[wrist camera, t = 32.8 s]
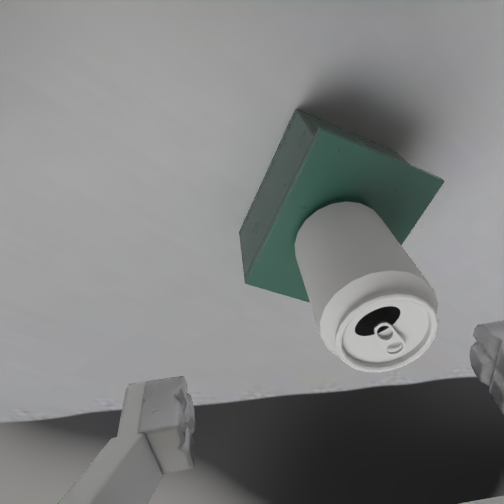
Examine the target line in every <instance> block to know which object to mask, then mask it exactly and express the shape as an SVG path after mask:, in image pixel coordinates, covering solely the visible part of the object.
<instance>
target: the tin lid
mask: <svg viewBox="0 0 504 504" xmlns="http://www.w3.org/2000/svg"><path fill="white" fill-rule="evenodd" d="M443 183H444V180H443V179H442V178H440V177H438V176H435V175H433V174H431V173H428V172H426V171H423V170H421V169H419V168H416V167H414V166H412V165H409V164H407V163H404V162H402V161H400V160H397V159H395V158H393V157H390V156H388V155H385V154H383V153H381V152H378V151H376V150H374V149H371V148H369V147H367V146H364V145H362V144H359V143H357V142H355V141H352V140H350V139H348V138H345V137H343V136H340V135H338V134H336V133H333V132H331V131H329V130H326V129H324V128H321V127H319V128H318V130H317V132H316V134H315V136H314V138H313V140H312V142H311V144H310V146H309V148H308V151H307V153H306V155H305V157H304V159H303V161H302V163H301V165H300V167H299V169H298V171H297V173H296V175H295V177H294V179H293V181H292V183H291V185H290V187H289V189H288V191H287V193H286V195H285V197H284V199H283V201H282V203H281V205H280V208H279V210H278V212H277V214H276V216H275V218H274V220H273V222H272V224H271V226H270V228H269V230H268V232H267V234H266V236H265V238H264V240H263V242H262V244H261V246H260V248H259V250H258V252H257V254H256V256H255V258H254V260H253V262H252V265H251V267H250V269H249V271H248V273H247V275H246V277H245V284H249V285H252V286H256V287H259V288H262V289H266V290H269V291H273V292H276V293H279V294H283V295H286V296H290V297H293V298H296V299H300V300H303V301H307V302H310V301H309V297H308V294H307V291H306V288H305V285H304V282H303V278H302V275H301V272H300V269H299V266H298V263H297V259H296V256H295V245H294V244H295V241H296V237H297V233H298V231H299V229H300V228H301V226H302V225H303V223H304V222H305V220H306V219H308V218H309V217H310V216H311V215H312V214H313V213H315V212H316V211H317V210H319V209H321V208H323V207H326V206H328V205H330V204H333V203H340V202H346V201H347V202H354V203H361V204H363V205H365V206H367V207H369V208H371V209H373V210H374V211H375V212H376V213H377V215H378V216H379V217H380V218H381V219H382V220H383V222H384V223H385V224H386V226H387V227H388V229H389V230H390V231H391V233H392V234H393V235H394V237H395V238H396V239H397V241H398V242H399V243H400V245H402V243H403V242H404V240H405V239H406V237H407V236H408V235H409V233H410V232H411V230H412V229H413V227H414V226H415V224H416V223H417V221H418V220H419V218H420V217H421V215H422V214H423V212H424V211H425V209H426V208H427V206H428V205H429V203H430V202H431V201H432V199H433V198H434V196H435V195H436V193H437V192H438V190H439V189H440V187H441V186H442V184H443Z"/></svg>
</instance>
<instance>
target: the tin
mask: <svg viewBox="0 0 504 504" xmlns="http://www.w3.org/2000/svg"><path fill="white" fill-rule="evenodd" d="M319 127H321V128H324V129H326V130H329V131H331V132H333V133H336V134H338V135H340V136H343V137H345V138H348V139H350V140H352V141H355V142H357V143H359V144H362V145H364V146H367V147H369V148H371V149H374V150H376V151H378V152H381V153H383V154H385V155H388V156H390V157H393V158H395V159H397V160H400V161H402V162H404V163H407V164H409V163H408V162H407V161H406V160H405V159H404V158H403V157H401V156H400V155H399V154H398V153H397V152H395V151H392V150H390V149H388V148H385V147H383V146H381V145H378V144H376V143H374V142H371V141H369V140H367V139H364V138H362V137H359V136H357V135H355V134H352V133H350V132H348V131H345V130H343V129H341V128H338V127H336V126H334V125H331V124H329V123H327V122H324V121H322V120H320V119H317V118H315V117H313V116H310V115H308V114H306V113H303V112H301V111H299V110H295V111H294V114H293V116H292V118H291V120H290V122H289V125H288V127H287V129H286V131H285V133H284V135H283V138H282V140H281V142H280V144H279V146H278V149H277V151H276V153H275V155H274V157H273V160H272V162H271V164H270V166H269V168H268V171H267V173H266V175H265V177H264V179H263V182H262V184H261V186H260V188H259V190H258V192H257V195H256V197H255V199H254V201H253V203H252V206H251V208H250V210H249V212H248V214H247V217H246V219H245V221H244V223H243V225H242V228H241V230H240V232H239V235H240V243H241V252H242V261H243V269H244V278H245V277H246V275H247V273H248V271H249V269H250V267H251V265H252V262H253V260H254V258H255V256H256V254H257V252H258V250H259V248H260V246H261V244H262V242H263V240H264V238H265V236H266V234H267V232H268V230H269V228H270V226H271V224H272V222H273V220H274V218H275V216H276V214H277V212H278V210H279V208H280V205H281V203H282V201H283V199H284V197H285V195H286V193H287V191H288V189H289V187H290V185H291V183H292V181H293V179H294V177H295V175H296V173H297V171H298V169H299V167H300V165H301V163H302V161H303V159H304V157H305V155H306V153H307V151H308V148H309V146H310V144H311V142H312V140H313V138H314V136H315V134H316V132H317V130H318V128H319ZM409 165H410V164H409Z"/></svg>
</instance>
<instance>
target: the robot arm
mask: <svg viewBox="0 0 504 504" xmlns="http://www.w3.org/2000/svg"><path fill="white" fill-rule="evenodd" d="M473 336H474V337H475V339H476V340H477V341H476V343H475V344H474V345H473V346H472V347H471V350H470V361H471V366H472V368H473V370H474V372H475V374H476V376H477V377H478V379H479V380H480V381H481V382H483V383H485V384H487V385H489V386H490V392H489V394H490V396H491V397H492V399H493V400H494V401H495V403H496V404H497V406H498V407H499V409H500V410H501V411H502V413H503V414H504V320H503V321H498V322H492V323H487V324H481V325H477V327H476V328H475V330H474V334H473ZM194 431H195V414H194V406H193V401H192V398H191V395H189V394H188V393H187V383H186V380H185V377H184V376H179V377H172V378H165V379H158V380H152V381H147V382H140V383H133V384H129V385H128V387H127V389H126V392H125V398H124V403H123V408H122V413H121V419H120V424H119V429H118V435H117V437H116V438H111V440H110V441H109V442H108V443H107V445H106V446H105V447H104V448H103V449H102V451H101V452H100V453H99V454H98V456H97V457H96V458H95V459H94V460H93V461H92V463H91V464H90V465H89V466H88V467H87V469H86V470H85V471H84V472H83V474H82V475H81V476H80V477H79V479H78V480H77V481H76V482H75V483H74V484H73V486H72V487H71V488H70V489H69V491H68V492H67V493H66V494H65V495H64V497H63V498H62V499H61V500H60V501H59V503H58V504H148V502H149V501H150V499H151V497H152V495H153V494H154V492H155V490H156V488H157V486H158V485H159V483H160V481H161V479H162V478H163V474H167V473H173V472H177V471H182V470H187V469H192V468H194V459H195V444H194V441H193V438H192V434H193V432H194ZM461 504H504V496H500V497H494V498H489V499H483V500H478V501H472V502H466V503H461Z"/></svg>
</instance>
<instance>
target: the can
mask: <svg viewBox="0 0 504 504" xmlns="http://www.w3.org/2000/svg"><path fill="white" fill-rule="evenodd" d="M294 245H295V256H296V259H297V263H298V266H299V269H300V272H301V275H302V278H303V282H304V285H305V288H306V291H307V294H308V297H309V301H310V304H311V307H312V310H313V313H314V316H315V319H316V323H317V326H318V329H319V332H320V335H321V337H322V339H323V341H324V343H325V345H326V347H327V348H328V349H329V350H331V351H332V352H333V353H334V354H336V355H337V356H338V357H340V358H341V360H342V361H344V362H345V363H346V364H347V365H349V366H350V367H352V368H355V369H357V370H360V371H364V372H384V371H391V370H395V369H397V368H400V367H402V366H405V365H408V364H409V363H411V362H412V361H414V360H415V359H417V358H418V357H420V356H421V355H422V354H423V353H424V352H425V351H426V350H427V349H428V348H429V347H430V346H431V344H432V342H433V340H434V338H435V336H436V334H437V329H438V318H437V307H438V302H437V299H436V295H435V292H434V290H433V288H432V287H431V286H430V284H429V283H428V281H427V280H426V279H425V277H424V276H423V275H422V273H421V272H420V271H419V269H418V268H417V267H416V265H415V264H414V262H413V261H412V260H411V258H410V257H409V256H408V254H407V253H406V252H405V250H404V249H403V248H402V246H401V245H400V243H399V242H398V241H397V239H396V238H395V237H394V235H393V234H392V233H391V231H390V230H389V229H388V227H387V226H386V224H385V223H384V222H383V220H382V219H381V218H380V217H379V216H378V215H377V213H376V212H375V211H374V210H373V209H371V208H369V207H367V206H365V205H363V204H361V203H354V202H347V201H346V202H340V203H333V204H330V205H328V206H326V207H323V208H321V209H319V210H317V211H316V212H315V213H313V214H312V215H311V216H310V217H309V218H308V219H306V220H305V222H304V223H303V225H302V226H301V228H300V229H299V231H298V233H297V237H296V241H295V244H294Z"/></svg>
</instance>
